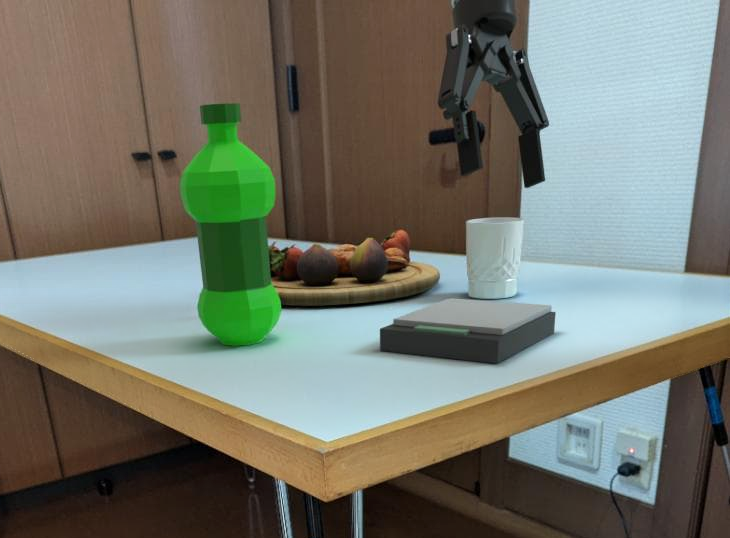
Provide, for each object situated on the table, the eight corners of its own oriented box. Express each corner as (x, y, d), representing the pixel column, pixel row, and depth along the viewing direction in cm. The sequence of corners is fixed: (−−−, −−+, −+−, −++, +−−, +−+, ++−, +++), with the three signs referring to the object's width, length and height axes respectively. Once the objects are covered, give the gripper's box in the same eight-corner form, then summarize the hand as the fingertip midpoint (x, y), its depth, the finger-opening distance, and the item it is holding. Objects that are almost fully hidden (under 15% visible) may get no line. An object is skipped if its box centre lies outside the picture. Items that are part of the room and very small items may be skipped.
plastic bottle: (269, 327, 102) (251, 105, 91) (295, 343, 93) (279, 99, 82) (192, 337, 99) (164, 109, 88) (211, 355, 90) (182, 103, 79)
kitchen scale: (554, 333, 91) (556, 305, 90) (497, 363, 81) (498, 332, 79) (445, 323, 99) (445, 297, 97) (380, 350, 88) (379, 322, 87)
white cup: (453, 297, 114) (454, 222, 110) (483, 288, 119) (486, 216, 115) (501, 302, 109) (504, 223, 105) (530, 292, 114) (535, 217, 110)
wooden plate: (381, 267, 144) (380, 218, 141) (480, 290, 118) (482, 231, 114) (210, 287, 134) (204, 235, 130) (278, 318, 107) (273, 253, 103)
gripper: (514, 38, 109) (534, 198, 111) (391, -11, 93) (417, 177, 95) (563, 10, 104) (583, 178, 106) (441, -48, 87) (468, 153, 89)
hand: (504, 178), depth 100 cm, fingers open, 13 cm apart
